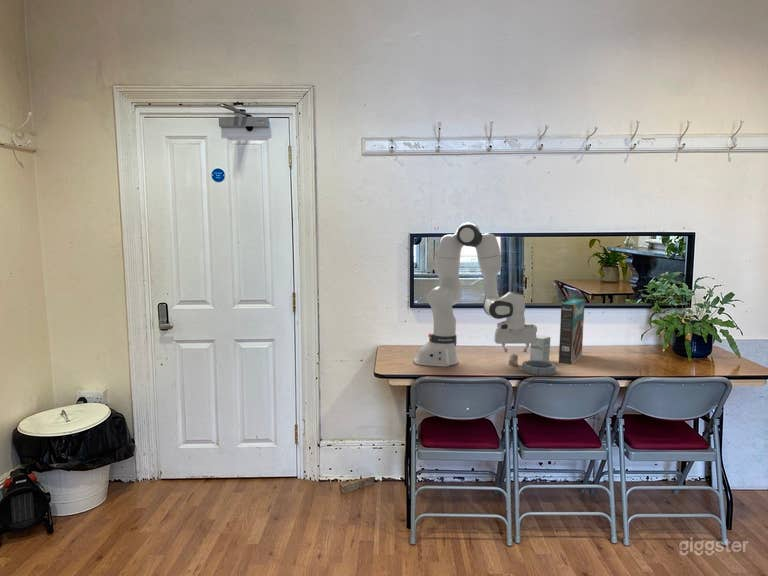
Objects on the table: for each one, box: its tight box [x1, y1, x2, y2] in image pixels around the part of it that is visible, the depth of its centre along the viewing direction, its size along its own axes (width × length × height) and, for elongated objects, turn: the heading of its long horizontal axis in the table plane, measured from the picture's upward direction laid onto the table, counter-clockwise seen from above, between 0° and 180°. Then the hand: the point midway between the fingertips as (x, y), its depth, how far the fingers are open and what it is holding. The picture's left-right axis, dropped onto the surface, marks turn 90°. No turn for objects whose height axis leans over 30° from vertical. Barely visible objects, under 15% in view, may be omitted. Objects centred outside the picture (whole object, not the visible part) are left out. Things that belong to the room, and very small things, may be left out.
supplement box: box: [529, 334, 551, 362], centre depth 272 cm, size 7×7×13 cm
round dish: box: [521, 359, 557, 377], centre depth 253 cm, size 15×15×4 cm
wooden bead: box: [508, 353, 519, 367], centre depth 264 cm, size 4×4×5 cm
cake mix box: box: [558, 298, 586, 365], centre depth 275 cm, size 22×6×30 cm, turn 146°
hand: (515, 352), depth 263 cm, fingers open, 8 cm apart
